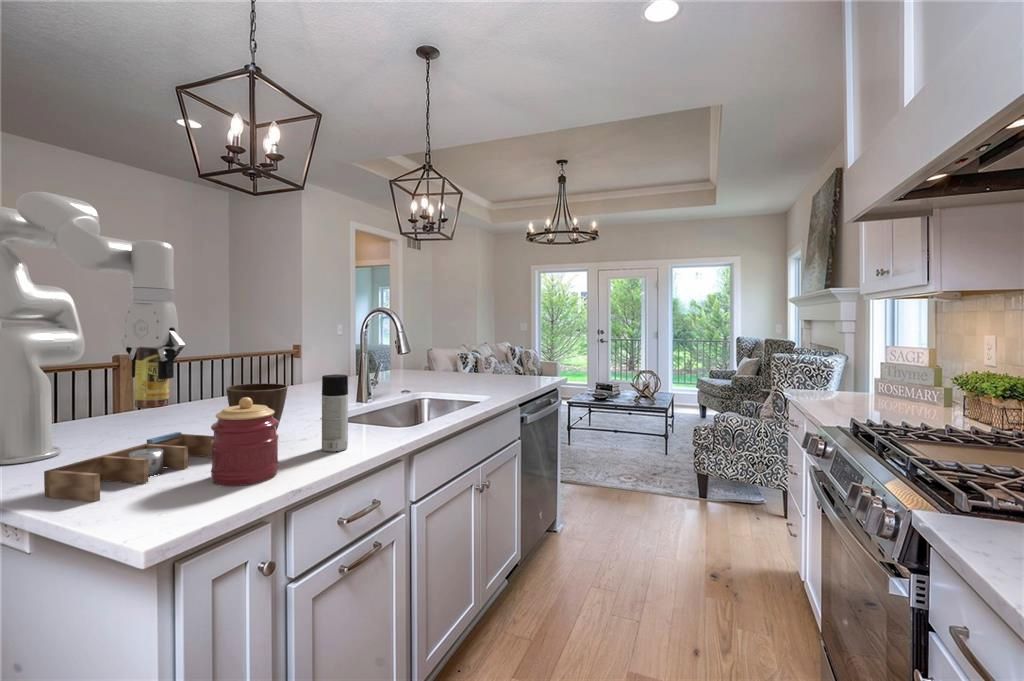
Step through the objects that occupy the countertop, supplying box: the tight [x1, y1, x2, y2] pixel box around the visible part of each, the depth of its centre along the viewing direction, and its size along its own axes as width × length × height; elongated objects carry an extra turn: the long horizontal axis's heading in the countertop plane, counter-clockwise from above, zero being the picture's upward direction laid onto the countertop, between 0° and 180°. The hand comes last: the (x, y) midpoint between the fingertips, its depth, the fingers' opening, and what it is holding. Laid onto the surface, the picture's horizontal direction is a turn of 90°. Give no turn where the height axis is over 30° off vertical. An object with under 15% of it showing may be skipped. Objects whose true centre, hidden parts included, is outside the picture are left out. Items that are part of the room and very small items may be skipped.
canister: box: [210, 397, 280, 487], centre depth 104 cm, size 13×13×18 cm
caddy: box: [43, 431, 214, 503], centre depth 105 cm, size 11×31×6 cm, turn 171°
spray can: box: [321, 374, 349, 453], centre depth 127 cm, size 7×7×20 cm
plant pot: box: [225, 382, 288, 432], centre depth 131 cm, size 15×15×16 cm
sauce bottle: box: [133, 345, 171, 409], centre depth 105 cm, size 6×6×20 cm
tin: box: [129, 448, 164, 478], centre depth 104 cm, size 6×6×5 cm
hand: (152, 377), depth 106 cm, fingers closed on sauce bottle, 6 cm apart
